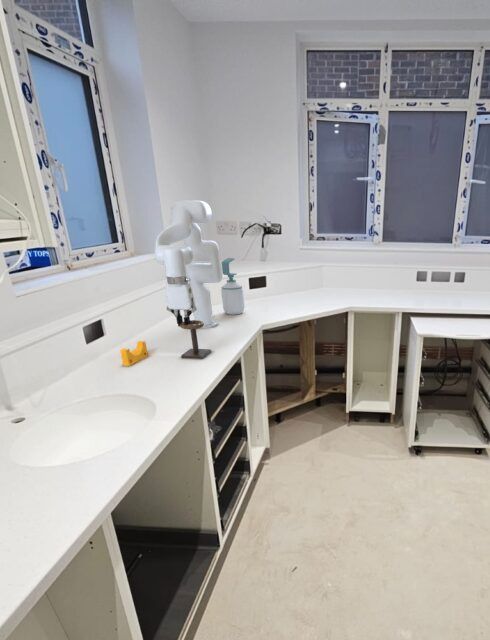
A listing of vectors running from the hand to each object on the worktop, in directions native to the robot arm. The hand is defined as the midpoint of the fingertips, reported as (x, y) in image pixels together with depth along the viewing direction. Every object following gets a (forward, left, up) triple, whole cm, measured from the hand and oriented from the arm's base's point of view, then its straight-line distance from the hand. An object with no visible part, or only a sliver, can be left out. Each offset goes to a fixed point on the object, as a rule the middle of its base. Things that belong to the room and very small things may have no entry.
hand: (184, 325), depth 165 cm
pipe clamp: (+10, -18, -13) cm, 24 cm away
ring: (0, +4, 0) cm, 4 cm away
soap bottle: (-74, -6, -13) cm, 75 cm away
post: (0, +4, -13) cm, 13 cm away
